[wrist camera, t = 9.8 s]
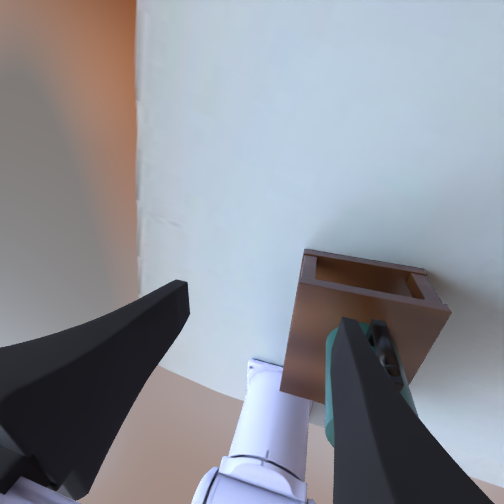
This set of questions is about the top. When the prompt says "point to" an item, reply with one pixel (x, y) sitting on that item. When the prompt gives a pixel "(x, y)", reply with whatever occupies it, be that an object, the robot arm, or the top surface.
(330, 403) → the kettle
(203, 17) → the top surface
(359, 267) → the stand
